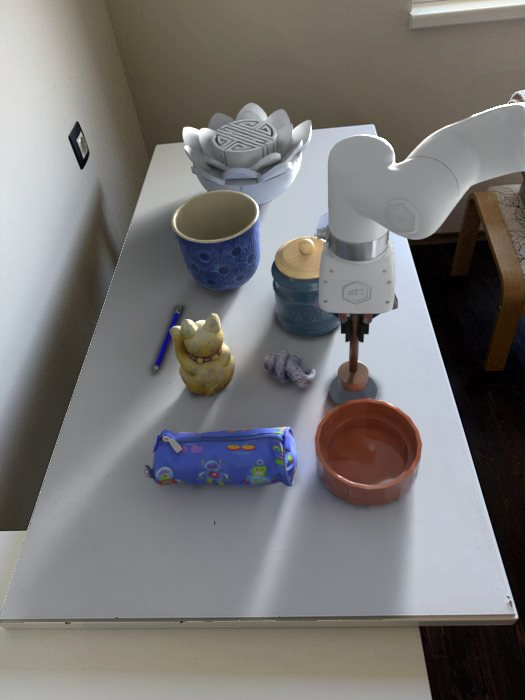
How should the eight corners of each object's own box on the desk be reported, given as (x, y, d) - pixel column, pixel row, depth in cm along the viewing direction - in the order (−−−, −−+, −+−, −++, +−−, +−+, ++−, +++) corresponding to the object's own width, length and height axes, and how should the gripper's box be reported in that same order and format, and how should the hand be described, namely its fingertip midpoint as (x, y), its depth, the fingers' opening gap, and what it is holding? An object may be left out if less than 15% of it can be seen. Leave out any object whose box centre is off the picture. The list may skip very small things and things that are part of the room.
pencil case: (154, 496, 85) (137, 465, 78) (163, 447, 91) (148, 414, 84) (298, 497, 83) (294, 464, 76) (298, 447, 89) (295, 412, 81)
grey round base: (387, 392, 94) (387, 390, 93) (352, 419, 91) (352, 417, 91) (353, 366, 98) (353, 363, 98) (319, 390, 96) (319, 388, 95)
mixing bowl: (438, 466, 84) (444, 444, 79) (366, 529, 79) (367, 510, 74) (365, 405, 93) (367, 382, 88) (296, 458, 87) (293, 437, 83)
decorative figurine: (231, 359, 102) (218, 299, 91) (244, 392, 97) (232, 333, 86) (180, 375, 101) (160, 317, 90) (191, 410, 96) (172, 352, 84)
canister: (286, 345, 103) (278, 273, 90) (269, 300, 112) (260, 227, 99) (353, 329, 104) (355, 254, 91) (331, 285, 113) (330, 211, 100)
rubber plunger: (374, 380, 92) (380, 309, 80) (352, 397, 90) (355, 326, 78) (353, 363, 95) (355, 292, 82) (331, 379, 93) (330, 308, 81)
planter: (283, 270, 117) (277, 209, 106) (223, 315, 110) (210, 254, 99) (228, 240, 126) (218, 180, 115) (170, 279, 119) (153, 219, 108)
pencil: (178, 308, 113) (177, 304, 112) (182, 308, 113) (181, 304, 112) (153, 372, 102) (151, 369, 101) (158, 373, 102) (156, 369, 101)
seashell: (316, 387, 98) (265, 372, 101) (322, 358, 96) (270, 343, 100) (305, 394, 93) (252, 377, 97) (311, 363, 92) (257, 348, 95)
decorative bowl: (164, 203, 138) (148, 147, 127) (244, 150, 152) (236, 95, 141) (254, 246, 124) (246, 187, 112) (334, 182, 137) (334, 124, 126)
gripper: (294, 255, 69) (301, 352, 83) (424, 255, 67) (408, 355, 81) (298, 219, 74) (304, 316, 88) (420, 218, 72) (406, 318, 86)
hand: (354, 334), depth 84 cm, fingers closed on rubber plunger, 1 cm apart
